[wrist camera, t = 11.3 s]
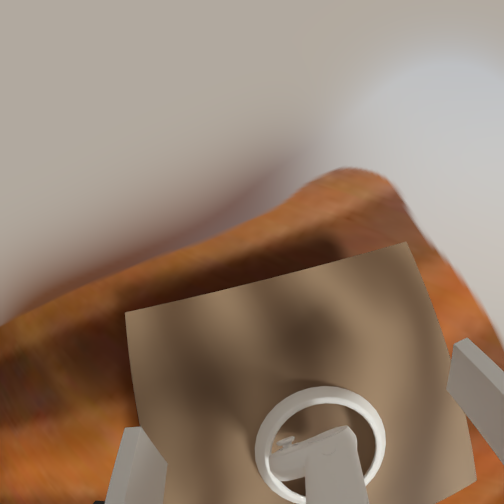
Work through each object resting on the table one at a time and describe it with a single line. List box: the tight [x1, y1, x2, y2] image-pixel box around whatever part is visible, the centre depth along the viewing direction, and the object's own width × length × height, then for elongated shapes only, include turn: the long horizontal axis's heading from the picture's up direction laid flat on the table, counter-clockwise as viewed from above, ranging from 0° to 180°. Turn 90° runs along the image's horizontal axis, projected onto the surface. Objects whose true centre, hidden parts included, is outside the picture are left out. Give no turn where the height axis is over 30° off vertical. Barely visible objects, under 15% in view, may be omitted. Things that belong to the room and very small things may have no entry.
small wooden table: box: [125, 242, 477, 504], centre depth 19 cm, size 20×18×6 cm
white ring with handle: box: [255, 386, 386, 504], centre depth 12 cm, size 8×12×7 cm
